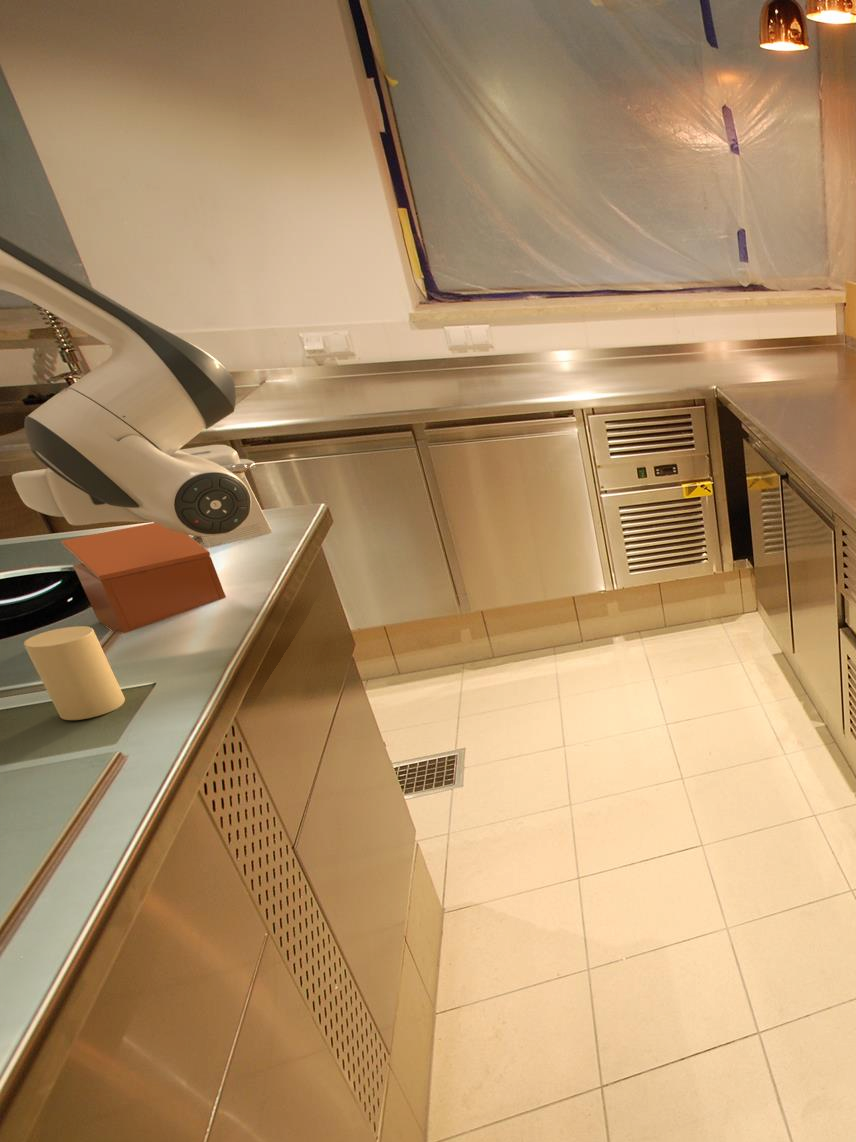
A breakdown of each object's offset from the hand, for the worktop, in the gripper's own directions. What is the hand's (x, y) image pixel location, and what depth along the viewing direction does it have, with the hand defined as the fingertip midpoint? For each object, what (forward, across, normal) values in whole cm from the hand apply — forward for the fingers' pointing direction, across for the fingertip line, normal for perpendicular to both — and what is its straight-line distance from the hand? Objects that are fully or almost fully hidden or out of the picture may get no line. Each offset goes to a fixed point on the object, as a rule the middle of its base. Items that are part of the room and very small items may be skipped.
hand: (114, 466), depth 105 cm
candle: (-19, +14, +22) cm, 32 cm away
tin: (+4, 0, +22) cm, 23 cm away
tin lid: (+5, 0, +12) cm, 13 cm away
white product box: (+28, -18, +22) cm, 40 cm away
